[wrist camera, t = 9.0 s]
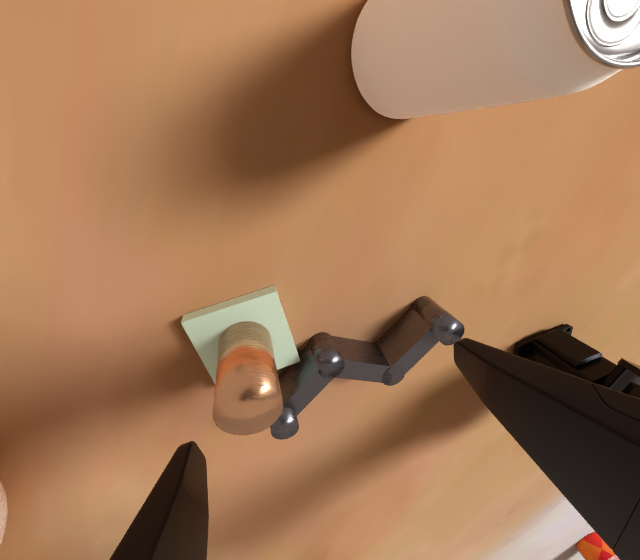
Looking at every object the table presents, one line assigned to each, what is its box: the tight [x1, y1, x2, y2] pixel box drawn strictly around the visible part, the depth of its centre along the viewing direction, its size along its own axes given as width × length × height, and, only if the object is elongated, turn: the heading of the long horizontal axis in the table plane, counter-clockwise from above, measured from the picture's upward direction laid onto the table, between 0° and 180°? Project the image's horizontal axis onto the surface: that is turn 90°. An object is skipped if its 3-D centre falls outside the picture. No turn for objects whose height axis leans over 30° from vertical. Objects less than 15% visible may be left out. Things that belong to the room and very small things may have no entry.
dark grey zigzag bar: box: [270, 296, 464, 439], centre depth 23 cm, size 5×16×4 cm, turn 103°
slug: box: [213, 321, 283, 435], centre depth 18 cm, size 4×4×6 cm
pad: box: [181, 285, 300, 384], centre depth 21 cm, size 6×6×1 cm
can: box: [351, 0, 640, 119], centre depth 12 cm, size 6×6×12 cm
